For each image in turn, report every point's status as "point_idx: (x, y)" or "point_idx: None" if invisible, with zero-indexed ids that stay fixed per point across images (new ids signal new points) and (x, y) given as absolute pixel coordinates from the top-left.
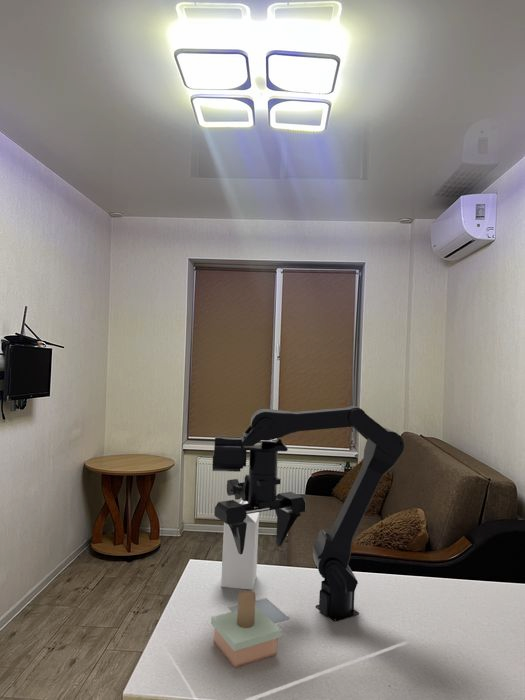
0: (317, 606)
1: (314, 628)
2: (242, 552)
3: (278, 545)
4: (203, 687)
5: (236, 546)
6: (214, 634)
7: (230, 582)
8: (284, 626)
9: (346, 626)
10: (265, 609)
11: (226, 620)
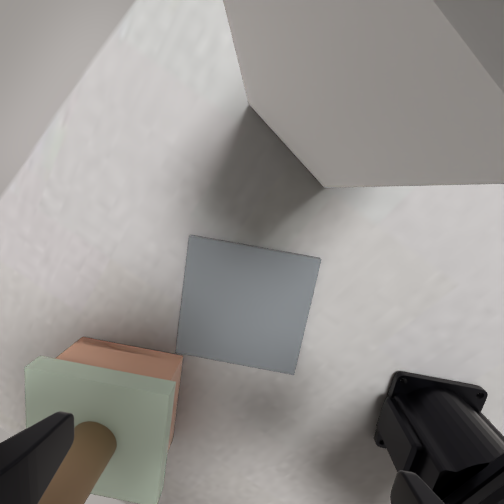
0: (404, 376)
1: (318, 421)
2: (58, 461)
3: (392, 491)
4: (12, 419)
5: (3, 445)
6: (65, 351)
7: (271, 123)
8: (265, 377)
9: (386, 457)
10: (272, 306)
11: (53, 404)
